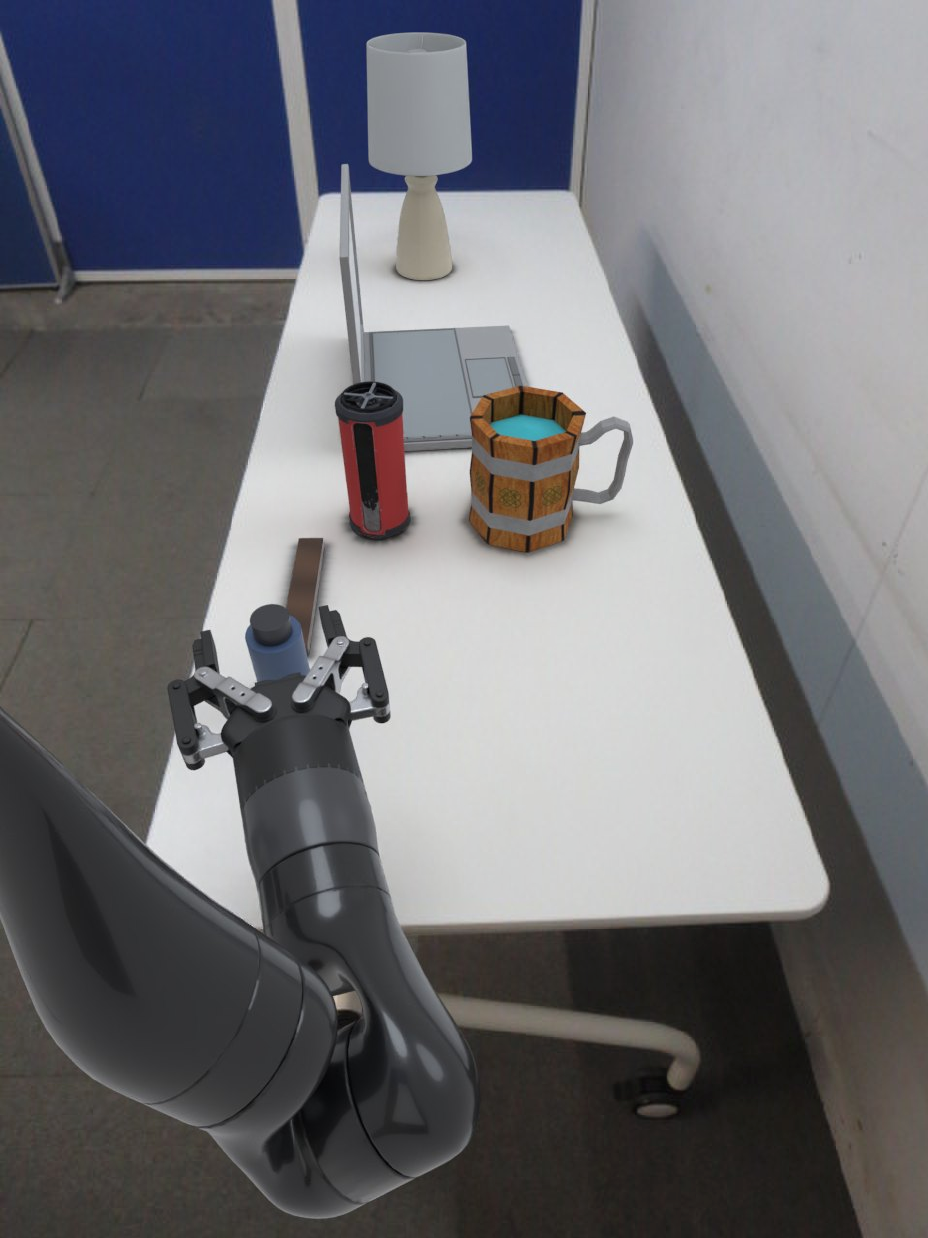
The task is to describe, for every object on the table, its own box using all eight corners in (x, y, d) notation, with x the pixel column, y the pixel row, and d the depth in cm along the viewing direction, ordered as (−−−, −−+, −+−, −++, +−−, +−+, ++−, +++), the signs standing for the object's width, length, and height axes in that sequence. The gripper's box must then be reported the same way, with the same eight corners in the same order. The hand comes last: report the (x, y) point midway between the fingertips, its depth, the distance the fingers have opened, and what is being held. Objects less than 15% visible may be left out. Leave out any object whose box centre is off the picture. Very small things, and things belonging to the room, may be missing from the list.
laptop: (542, 444, 115) (558, 248, 95) (359, 454, 113) (337, 257, 94) (508, 332, 139) (516, 158, 120) (357, 339, 137) (340, 164, 118)
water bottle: (294, 727, 79) (274, 645, 71) (253, 707, 81) (228, 625, 73) (325, 692, 83) (309, 609, 74) (285, 673, 84) (265, 590, 76)
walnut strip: (309, 655, 86) (307, 645, 85) (281, 655, 86) (278, 646, 85) (324, 546, 99) (323, 537, 98) (300, 547, 99) (298, 537, 98)
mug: (472, 555, 98) (474, 450, 87) (464, 489, 107) (464, 387, 96) (631, 547, 99) (652, 443, 88) (609, 483, 108) (625, 381, 98)
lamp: (475, 252, 164) (477, 31, 138) (467, 290, 151) (467, 55, 125) (385, 249, 165) (370, 29, 139) (369, 287, 152) (349, 53, 126)
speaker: (342, 537, 100) (325, 409, 87) (359, 500, 105) (344, 374, 93) (403, 543, 99) (394, 415, 86) (416, 506, 105) (409, 380, 92)
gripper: (417, 743, 47) (356, 568, 58) (168, 808, 44) (152, 610, 55) (421, 811, 53) (364, 638, 63) (199, 873, 49) (179, 680, 60)
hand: (266, 625), depth 59 cm, fingers open, 8 cm apart
